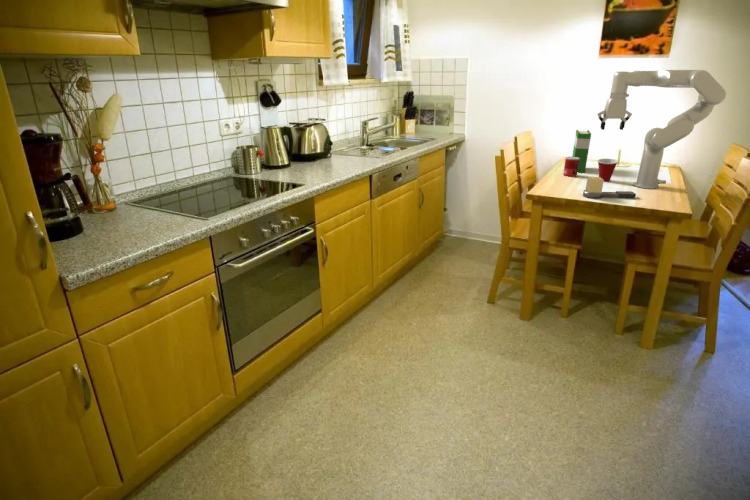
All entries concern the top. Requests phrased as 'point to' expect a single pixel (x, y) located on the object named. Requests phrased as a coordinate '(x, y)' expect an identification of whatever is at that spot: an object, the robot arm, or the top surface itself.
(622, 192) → the ratchet
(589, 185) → the tan wooden block
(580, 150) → the hardback book
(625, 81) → the robot arm
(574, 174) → the canned food
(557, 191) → the top surface
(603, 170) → the plastic cup
